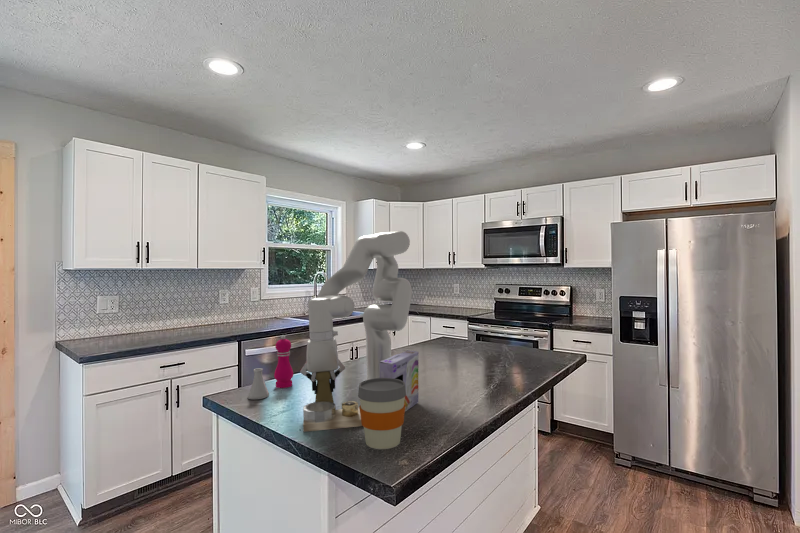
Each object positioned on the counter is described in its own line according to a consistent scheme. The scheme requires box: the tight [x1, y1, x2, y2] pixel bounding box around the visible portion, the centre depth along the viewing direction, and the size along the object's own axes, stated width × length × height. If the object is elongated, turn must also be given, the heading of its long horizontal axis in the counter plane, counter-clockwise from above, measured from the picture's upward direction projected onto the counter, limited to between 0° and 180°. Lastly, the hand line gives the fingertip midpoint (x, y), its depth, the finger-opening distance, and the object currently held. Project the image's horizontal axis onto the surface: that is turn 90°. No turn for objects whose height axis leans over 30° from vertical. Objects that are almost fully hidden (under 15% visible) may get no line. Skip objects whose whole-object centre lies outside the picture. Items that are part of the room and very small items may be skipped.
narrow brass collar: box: [341, 400, 359, 417], centre depth 121 cm, size 5×5×3 cm
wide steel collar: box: [302, 401, 337, 423], centre depth 119 cm, size 9×9×3 cm
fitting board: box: [302, 407, 363, 433], centre depth 120 cm, size 18×10×2 cm, turn 102°
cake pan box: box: [380, 349, 419, 413], centre depth 128 cm, size 19×5×18 cm, turn 151°
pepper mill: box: [273, 334, 294, 389], centre depth 159 cm, size 7×7×20 cm
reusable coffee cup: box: [357, 378, 406, 450], centre depth 105 cm, size 13×13×15 cm
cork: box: [314, 371, 335, 404], centre depth 131 cm, size 6×6×11 cm
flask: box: [247, 367, 270, 400], centre depth 145 cm, size 7×7×10 cm
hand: (323, 391), depth 131 cm, fingers closed on cork, 4 cm apart
